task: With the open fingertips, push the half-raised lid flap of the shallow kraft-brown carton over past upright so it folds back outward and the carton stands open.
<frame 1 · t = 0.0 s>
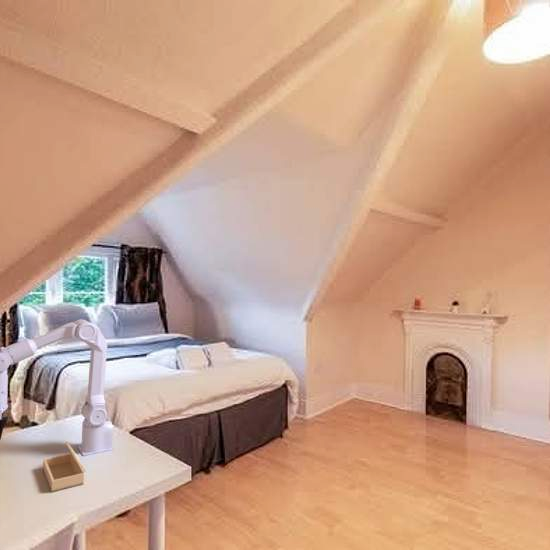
lid flap: (75, 456, 125), point 5 cm above the table, hinge at 60.0°
carton: (62, 476, 123), on the table
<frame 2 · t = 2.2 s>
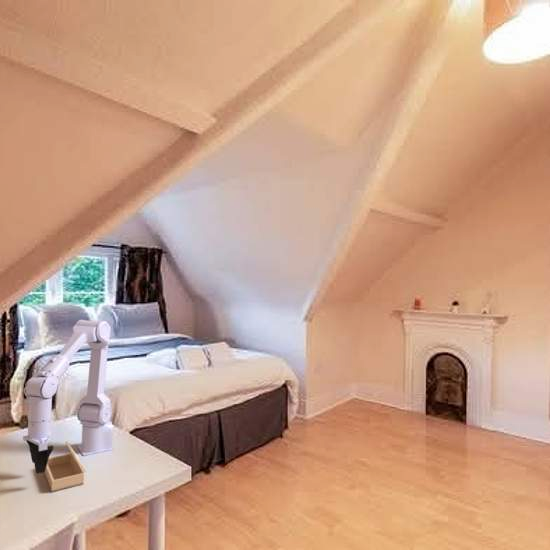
hand: (38, 466, 119), 4 cm above the table, tool pointing down, fingers open, 7 cm apart
nothing on the table moved.
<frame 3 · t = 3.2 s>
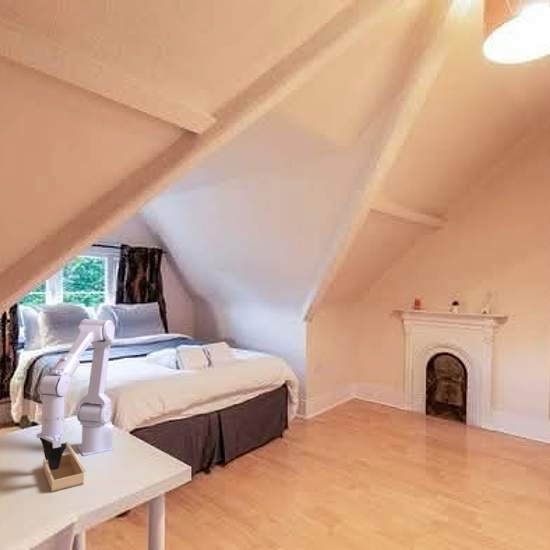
hand: (51, 464, 121), 4 cm above the table, tool pointing down, fingers open, 7 cm apart
nothing on the table moved.
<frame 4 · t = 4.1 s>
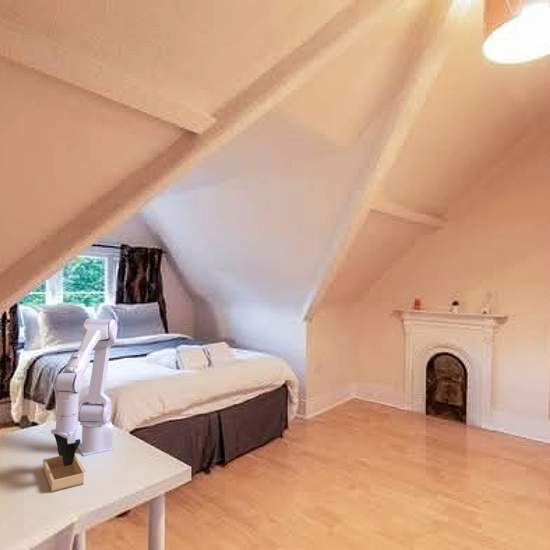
hand: (65, 460, 123), 5 cm above the table, tool pointing down
lid flap: (75, 456, 125), point 5 cm above the table, hinge at 61.2°, touching gripper
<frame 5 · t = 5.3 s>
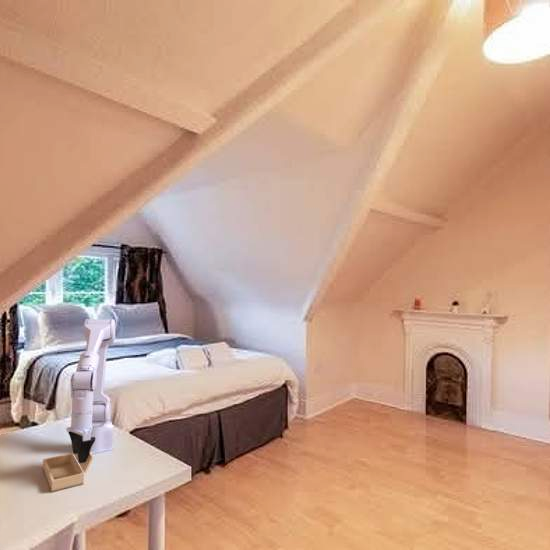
hand: (80, 457, 125), 5 cm above the table, tool pointing down
lid flap: (83, 455, 126), point 5 cm above the table, hinge at 116.3°, touching gripper
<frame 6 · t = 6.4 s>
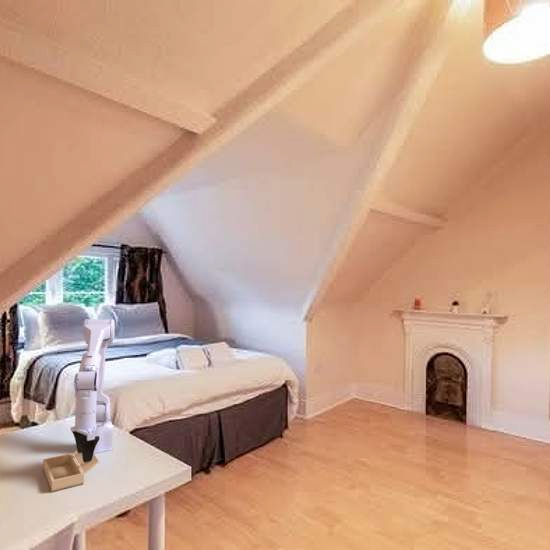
hand: (84, 456, 126), 5 cm above the table, tool pointing down
lid flap: (85, 457, 126), point 4 cm above the table, hinge at 147.1°, touching gripper
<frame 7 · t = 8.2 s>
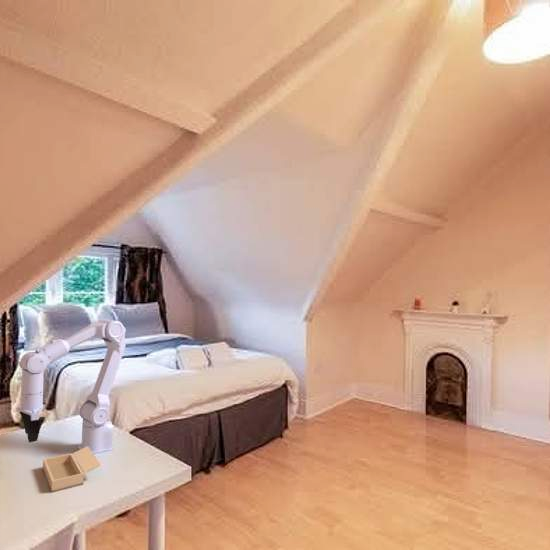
hand: (31, 437, 127), 9 cm above the table, tool pointing down, fingers open, 7 cm apart
lid flap: (86, 459, 127), point 4 cm above the table, hinge at 162.2°
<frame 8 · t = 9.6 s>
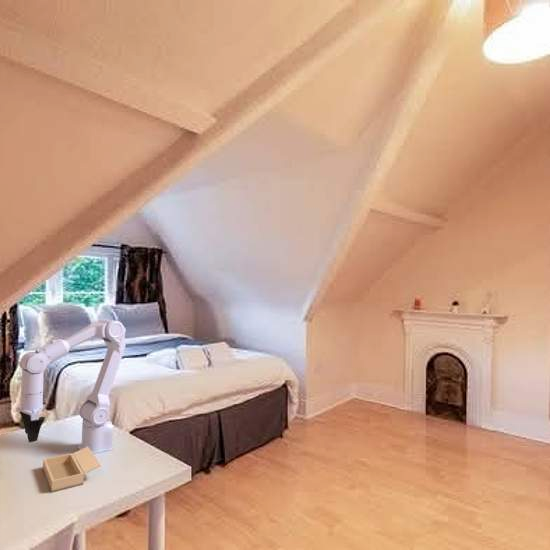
hand: (31, 437, 127), 9 cm above the table, tool pointing down, fingers open, 7 cm apart
lid flap: (86, 459, 127), point 3 cm above the table, hinge at 164.9°
at the end: lid flap at +165° (first picture: +60°) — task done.
